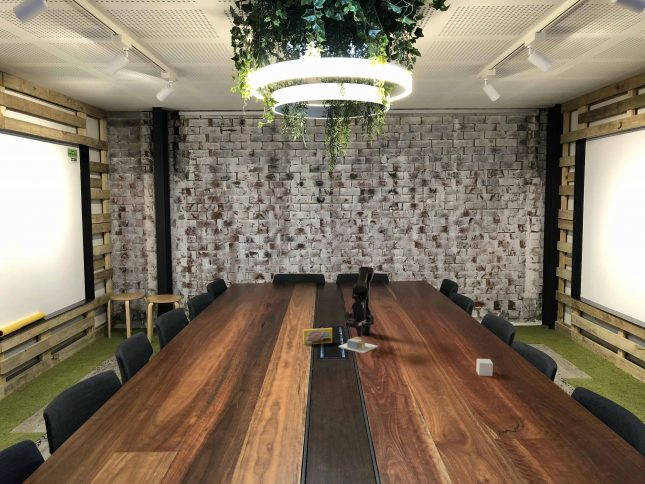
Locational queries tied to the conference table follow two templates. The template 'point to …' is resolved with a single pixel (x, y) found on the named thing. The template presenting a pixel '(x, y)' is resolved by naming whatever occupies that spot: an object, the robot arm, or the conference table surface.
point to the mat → (361, 350)
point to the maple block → (355, 343)
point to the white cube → (484, 367)
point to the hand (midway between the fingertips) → (359, 336)
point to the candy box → (317, 336)
